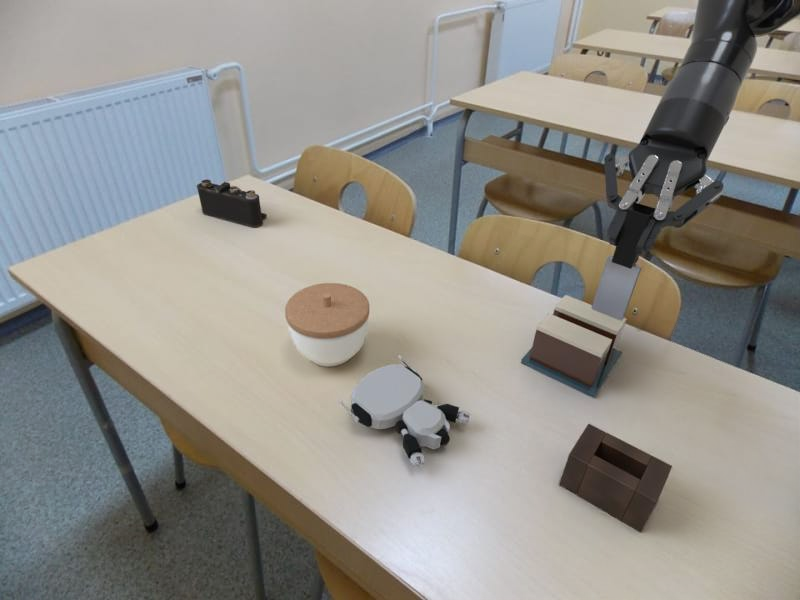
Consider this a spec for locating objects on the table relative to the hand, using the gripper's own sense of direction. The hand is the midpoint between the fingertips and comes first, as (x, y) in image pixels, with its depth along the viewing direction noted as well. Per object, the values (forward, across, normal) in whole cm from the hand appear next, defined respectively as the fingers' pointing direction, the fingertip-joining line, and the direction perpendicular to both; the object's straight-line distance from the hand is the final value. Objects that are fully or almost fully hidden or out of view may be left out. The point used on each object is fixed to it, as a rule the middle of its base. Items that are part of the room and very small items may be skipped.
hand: (625, 247), depth 59 cm
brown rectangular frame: (+26, +9, +10) cm, 30 cm away
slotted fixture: (+12, -4, +25) cm, 28 cm away
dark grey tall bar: (+6, 0, +9) cm, 11 cm away
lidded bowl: (+29, -35, +9) cm, 46 cm away
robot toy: (+31, -17, +6) cm, 36 cm away
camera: (+15, -85, +24) cm, 90 cm away
